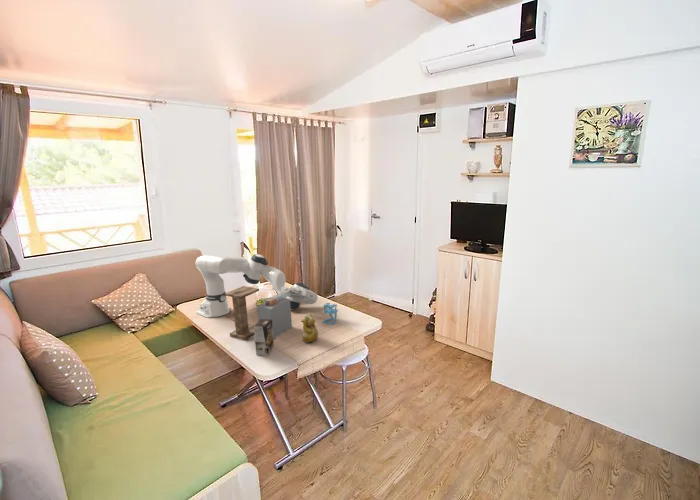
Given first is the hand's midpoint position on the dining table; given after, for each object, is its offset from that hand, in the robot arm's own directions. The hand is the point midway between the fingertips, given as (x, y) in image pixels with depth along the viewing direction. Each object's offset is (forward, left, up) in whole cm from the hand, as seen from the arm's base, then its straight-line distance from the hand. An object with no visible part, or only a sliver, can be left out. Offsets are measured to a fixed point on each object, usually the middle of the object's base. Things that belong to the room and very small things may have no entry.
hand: (288, 289), depth 214 cm
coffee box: (+10, -35, -21) cm, 42 cm away
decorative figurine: (+25, -15, -21) cm, 36 cm away
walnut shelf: (-14, -24, -21) cm, 35 cm away
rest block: (0, -14, -21) cm, 25 cm away
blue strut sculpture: (+22, +11, -21) cm, 33 cm away
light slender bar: (0, -8, -3) cm, 8 cm away
